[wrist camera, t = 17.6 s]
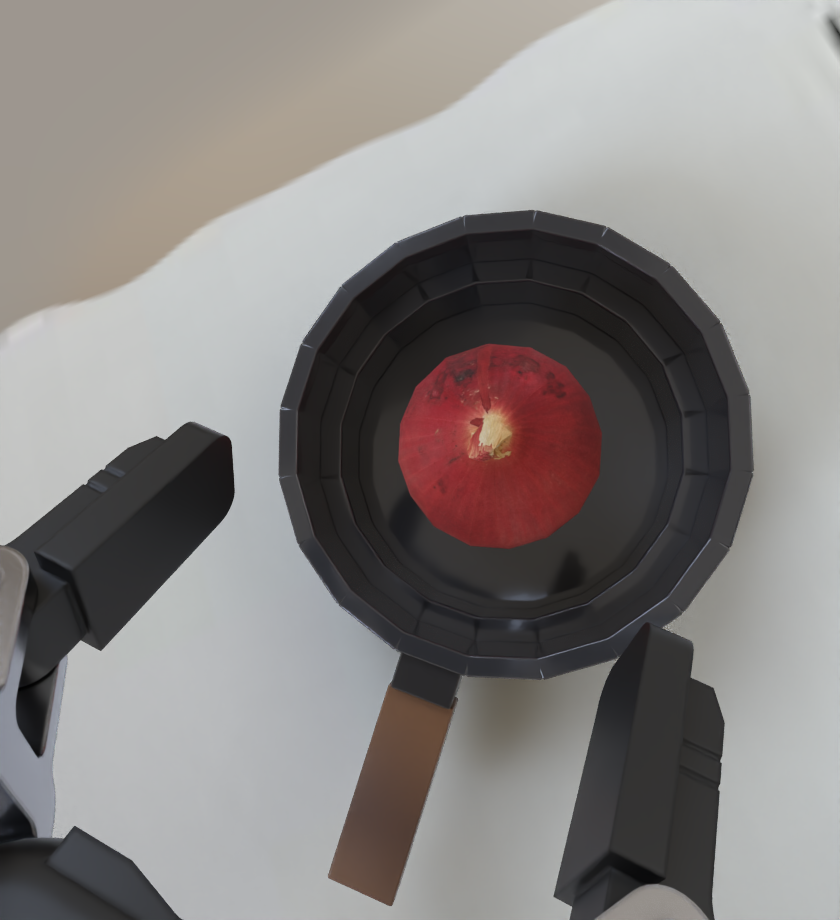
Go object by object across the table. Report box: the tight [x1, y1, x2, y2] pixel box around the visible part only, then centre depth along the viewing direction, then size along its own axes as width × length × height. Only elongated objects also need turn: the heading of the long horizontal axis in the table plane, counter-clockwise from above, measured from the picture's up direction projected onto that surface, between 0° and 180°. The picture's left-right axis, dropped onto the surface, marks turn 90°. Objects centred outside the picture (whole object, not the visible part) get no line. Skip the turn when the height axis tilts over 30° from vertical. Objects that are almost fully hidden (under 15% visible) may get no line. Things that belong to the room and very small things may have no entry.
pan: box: [279, 210, 754, 680], centre depth 21 cm, size 13×13×5 cm
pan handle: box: [328, 653, 462, 906], centre depth 19 cm, size 7×2×2 cm, turn 163°
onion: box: [398, 344, 602, 549], centre depth 18 cm, size 6×6×8 cm
